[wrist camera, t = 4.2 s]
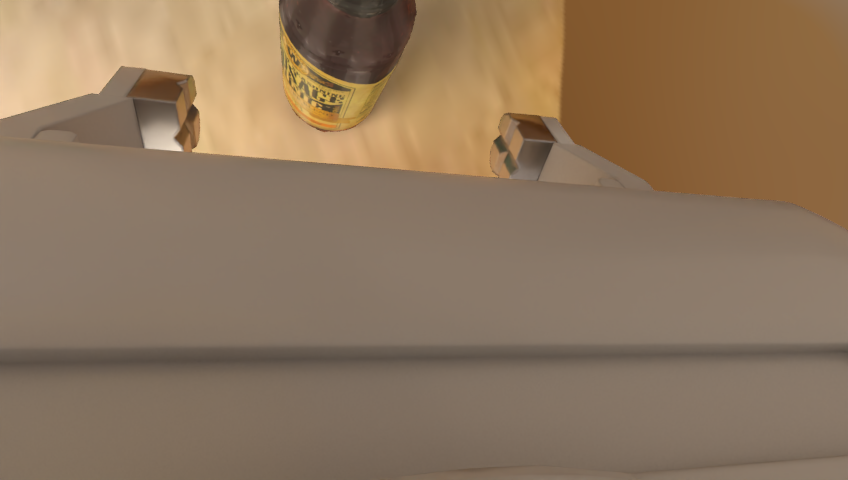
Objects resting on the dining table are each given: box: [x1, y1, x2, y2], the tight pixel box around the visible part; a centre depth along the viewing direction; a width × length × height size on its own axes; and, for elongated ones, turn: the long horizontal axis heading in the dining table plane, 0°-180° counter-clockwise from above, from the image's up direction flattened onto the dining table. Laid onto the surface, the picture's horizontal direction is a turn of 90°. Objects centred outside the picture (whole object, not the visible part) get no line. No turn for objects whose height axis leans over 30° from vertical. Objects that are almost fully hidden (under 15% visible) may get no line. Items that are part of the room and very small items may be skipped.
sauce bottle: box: [279, 0, 416, 132], centre depth 24 cm, size 6×6×20 cm
